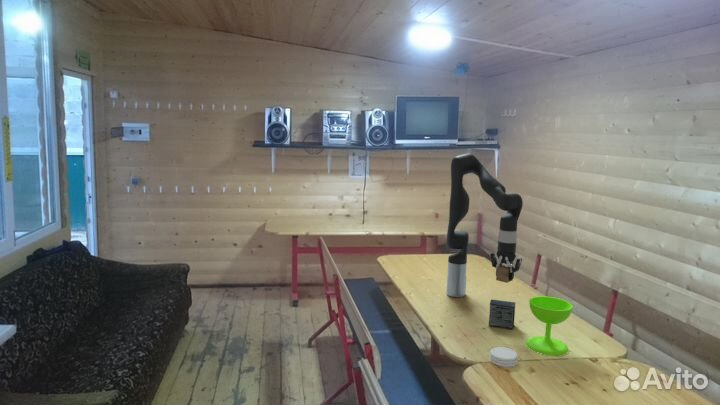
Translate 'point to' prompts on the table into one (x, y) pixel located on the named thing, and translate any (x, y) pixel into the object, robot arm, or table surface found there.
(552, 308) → the wineglass
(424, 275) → the table surface
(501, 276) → the walnut block
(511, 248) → the robot arm
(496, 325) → the small box
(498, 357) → the white short cylinder
